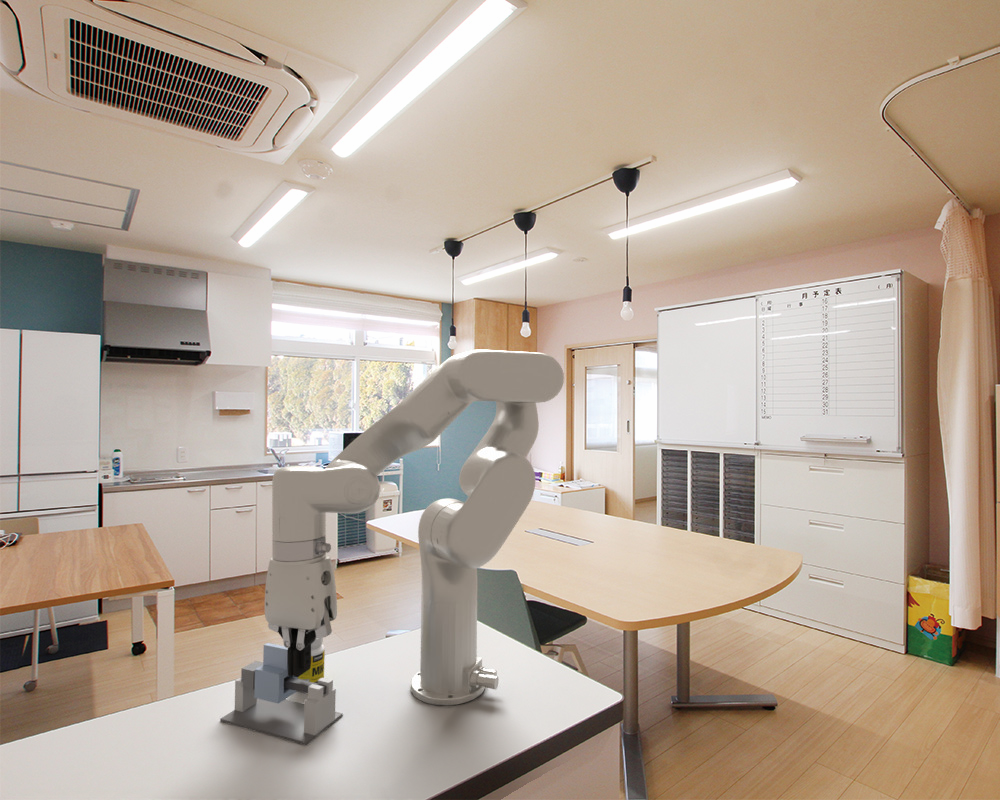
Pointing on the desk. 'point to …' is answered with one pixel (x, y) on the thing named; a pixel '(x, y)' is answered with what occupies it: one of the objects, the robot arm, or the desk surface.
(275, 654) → the light blue step block
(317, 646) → the supplement bottle
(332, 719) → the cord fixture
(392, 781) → the desk surface
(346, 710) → the desk surface
